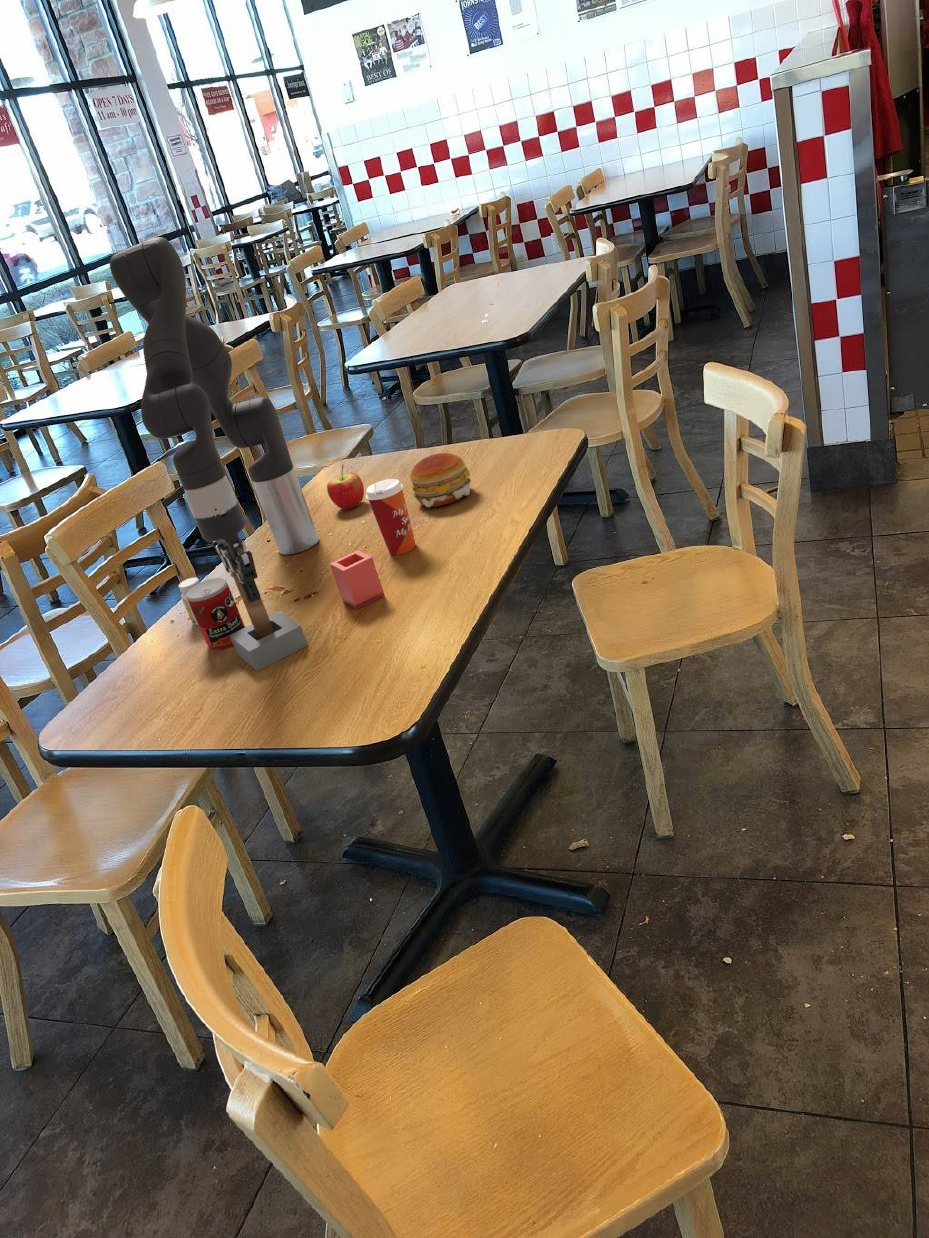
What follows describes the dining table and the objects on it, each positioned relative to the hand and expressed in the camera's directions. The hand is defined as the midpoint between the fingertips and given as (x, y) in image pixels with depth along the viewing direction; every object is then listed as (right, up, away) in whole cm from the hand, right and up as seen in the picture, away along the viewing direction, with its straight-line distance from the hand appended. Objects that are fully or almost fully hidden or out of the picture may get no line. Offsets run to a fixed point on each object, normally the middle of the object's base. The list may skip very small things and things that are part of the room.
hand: (251, 597), depth 171 cm
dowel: (+2, -8, +4) cm, 9 cm away
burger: (+33, +23, +51) cm, 64 cm away
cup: (+18, 0, +14) cm, 23 cm away
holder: (+3, -9, +5) cm, 11 cm away
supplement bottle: (-15, -4, +25) cm, 29 cm away
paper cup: (+24, +10, +31) cm, 41 cm away
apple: (+10, +22, +62) cm, 67 cm away
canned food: (-7, -8, +14) cm, 17 cm away
